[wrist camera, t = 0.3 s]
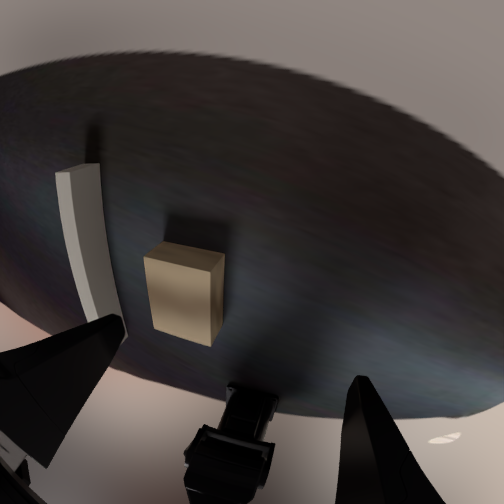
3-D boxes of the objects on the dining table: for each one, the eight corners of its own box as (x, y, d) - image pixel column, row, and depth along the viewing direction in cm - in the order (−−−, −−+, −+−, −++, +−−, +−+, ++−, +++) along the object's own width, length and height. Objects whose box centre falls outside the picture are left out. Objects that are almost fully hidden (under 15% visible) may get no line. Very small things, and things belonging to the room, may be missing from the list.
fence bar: (128, 335, 32) (111, 355, 28) (114, 330, 32) (98, 348, 29) (99, 163, 22) (69, 172, 18) (84, 163, 22) (55, 172, 19)
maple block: (223, 323, 27) (210, 346, 23) (170, 308, 28) (154, 328, 25) (226, 252, 23) (210, 272, 20) (164, 239, 24) (143, 256, 21)
